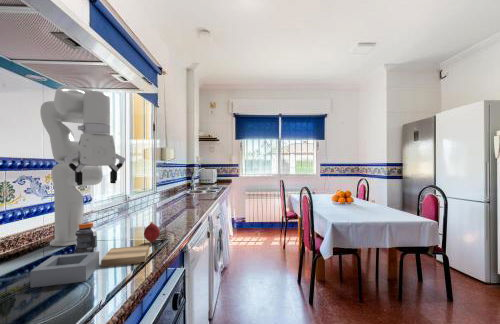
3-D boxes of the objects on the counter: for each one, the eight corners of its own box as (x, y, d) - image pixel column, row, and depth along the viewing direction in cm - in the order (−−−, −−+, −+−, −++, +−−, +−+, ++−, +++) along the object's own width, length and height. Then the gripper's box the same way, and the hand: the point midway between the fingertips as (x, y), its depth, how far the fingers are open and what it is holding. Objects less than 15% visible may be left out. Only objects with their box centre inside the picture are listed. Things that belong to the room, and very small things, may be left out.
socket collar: (52, 270, 77) (52, 255, 77) (99, 265, 80) (99, 251, 80) (30, 287, 65) (30, 271, 65) (86, 281, 68) (85, 265, 68)
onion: (162, 242, 103) (162, 221, 103) (147, 245, 100) (147, 224, 100) (156, 239, 108) (156, 219, 108) (141, 242, 104) (141, 221, 104)
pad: (111, 254, 90) (110, 248, 90) (149, 250, 93) (149, 245, 93) (101, 267, 78) (101, 260, 78) (145, 262, 81) (145, 255, 81)
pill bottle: (101, 255, 89) (101, 221, 89) (86, 261, 83) (86, 224, 84) (86, 254, 91) (86, 220, 91) (70, 260, 85) (70, 224, 85)
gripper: (67, 127, 78) (67, 186, 77) (128, 131, 90) (129, 183, 90) (61, 129, 83) (62, 185, 83) (120, 133, 95) (120, 182, 95)
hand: (96, 184), depth 86 cm, fingers open, 9 cm apart
